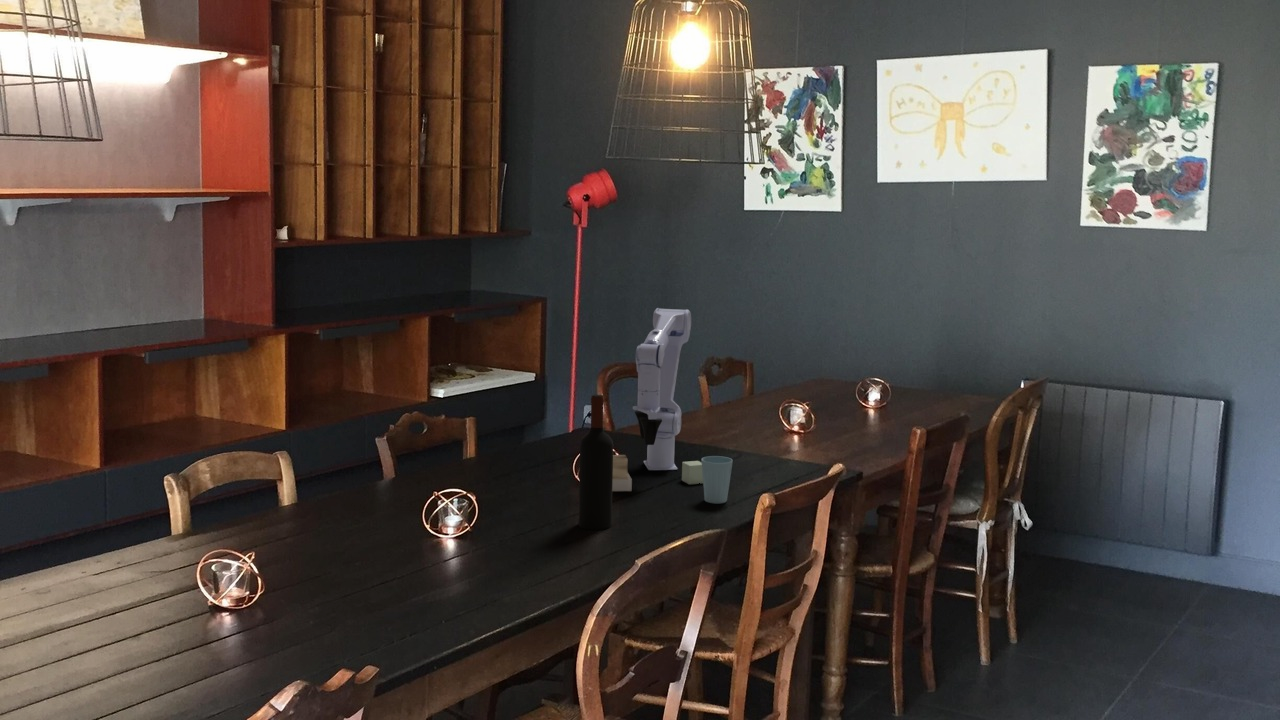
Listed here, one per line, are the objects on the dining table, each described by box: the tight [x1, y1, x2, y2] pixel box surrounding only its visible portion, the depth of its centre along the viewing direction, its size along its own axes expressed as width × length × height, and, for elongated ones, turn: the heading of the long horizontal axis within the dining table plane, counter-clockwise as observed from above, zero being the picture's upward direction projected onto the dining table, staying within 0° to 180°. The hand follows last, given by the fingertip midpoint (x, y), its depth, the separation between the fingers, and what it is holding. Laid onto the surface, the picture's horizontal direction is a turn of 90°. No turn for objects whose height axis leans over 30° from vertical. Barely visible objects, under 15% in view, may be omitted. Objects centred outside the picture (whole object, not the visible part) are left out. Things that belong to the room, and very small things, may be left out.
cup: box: [700, 455, 734, 504], centre depth 303 cm, size 8×8×10 cm
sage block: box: [681, 460, 703, 485], centre depth 322 cm, size 4×4×5 cm
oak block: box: [613, 454, 629, 478], centre depth 313 cm, size 4×4×5 cm
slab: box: [612, 472, 633, 492], centre depth 314 cm, size 7×7×3 cm
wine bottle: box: [578, 394, 614, 531], centre depth 278 cm, size 8×8×30 cm
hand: (647, 441), depth 321 cm, fingers open, 7 cm apart
